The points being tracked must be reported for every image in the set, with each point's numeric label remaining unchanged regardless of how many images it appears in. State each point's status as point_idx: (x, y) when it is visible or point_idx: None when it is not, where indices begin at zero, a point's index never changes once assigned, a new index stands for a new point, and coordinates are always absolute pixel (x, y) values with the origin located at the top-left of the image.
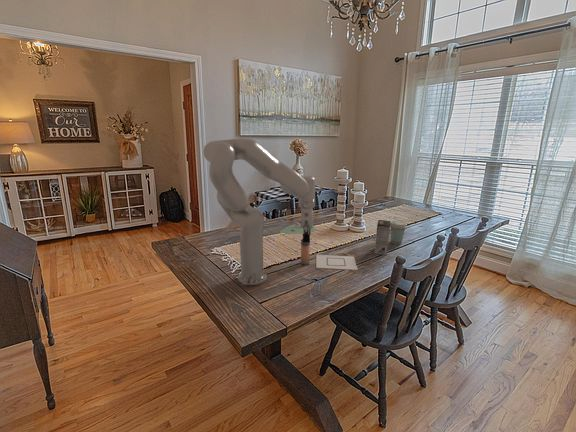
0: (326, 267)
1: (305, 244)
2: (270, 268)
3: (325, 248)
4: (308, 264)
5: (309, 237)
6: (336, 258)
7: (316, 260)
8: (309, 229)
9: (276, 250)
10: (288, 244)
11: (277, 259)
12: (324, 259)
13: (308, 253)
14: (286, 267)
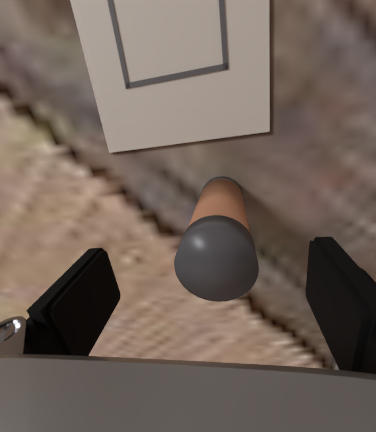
0: (261, 67)
1: (255, 251)
2: (293, 319)
3: (7, 115)
4: (230, 178)
5: (361, 275)
6: (116, 18)
7: (178, 143)
8: (72, 295)
9: (122, 315)
10: (49, 282)
11: (203, 304)
12: (153, 98)
13: (234, 198)
14: (277, 267)
